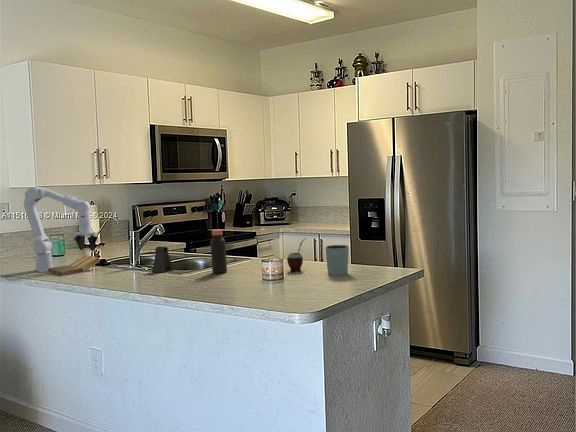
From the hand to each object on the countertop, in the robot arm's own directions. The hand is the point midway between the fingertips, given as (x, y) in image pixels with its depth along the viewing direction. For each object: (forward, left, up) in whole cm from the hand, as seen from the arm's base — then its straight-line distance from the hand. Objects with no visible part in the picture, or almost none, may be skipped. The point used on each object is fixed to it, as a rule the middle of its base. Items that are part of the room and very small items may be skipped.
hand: (87, 250), depth 299 cm
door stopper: (+46, +18, -10) cm, 50 cm away
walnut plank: (+2, -13, -10) cm, 16 cm away
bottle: (+75, +31, -10) cm, 81 cm away
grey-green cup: (+125, +58, -10) cm, 138 cm away
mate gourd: (+104, +53, -10) cm, 117 cm away
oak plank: (+2, -2, -7) cm, 8 cm away
